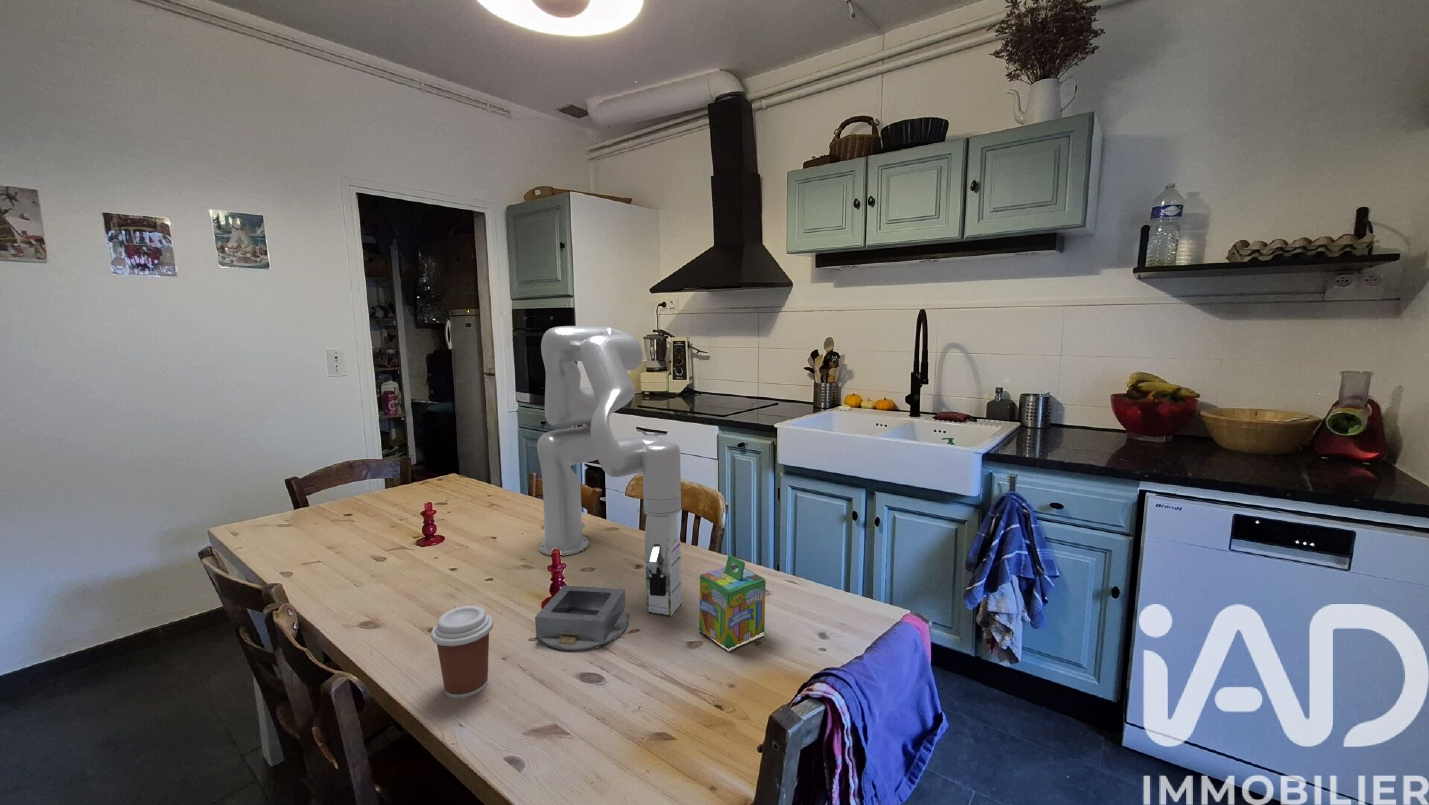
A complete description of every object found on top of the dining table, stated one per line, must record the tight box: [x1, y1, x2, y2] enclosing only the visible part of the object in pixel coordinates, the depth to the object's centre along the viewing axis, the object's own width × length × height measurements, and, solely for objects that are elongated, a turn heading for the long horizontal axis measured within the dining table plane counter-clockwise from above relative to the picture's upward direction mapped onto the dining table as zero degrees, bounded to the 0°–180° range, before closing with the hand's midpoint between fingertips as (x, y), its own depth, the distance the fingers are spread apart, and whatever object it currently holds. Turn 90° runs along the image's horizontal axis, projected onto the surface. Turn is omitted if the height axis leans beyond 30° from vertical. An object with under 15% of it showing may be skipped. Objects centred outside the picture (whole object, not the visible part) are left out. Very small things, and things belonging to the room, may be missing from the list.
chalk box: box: [698, 555, 767, 649], centre depth 105 cm, size 9×9×15 cm
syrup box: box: [644, 538, 683, 616], centre depth 115 cm, size 6×6×14 cm
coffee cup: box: [430, 605, 494, 699], centre depth 90 cm, size 9×9×12 cm
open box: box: [534, 585, 628, 652], centre depth 108 cm, size 17×17×5 cm
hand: (663, 584), depth 115 cm, fingers open, 9 cm apart
